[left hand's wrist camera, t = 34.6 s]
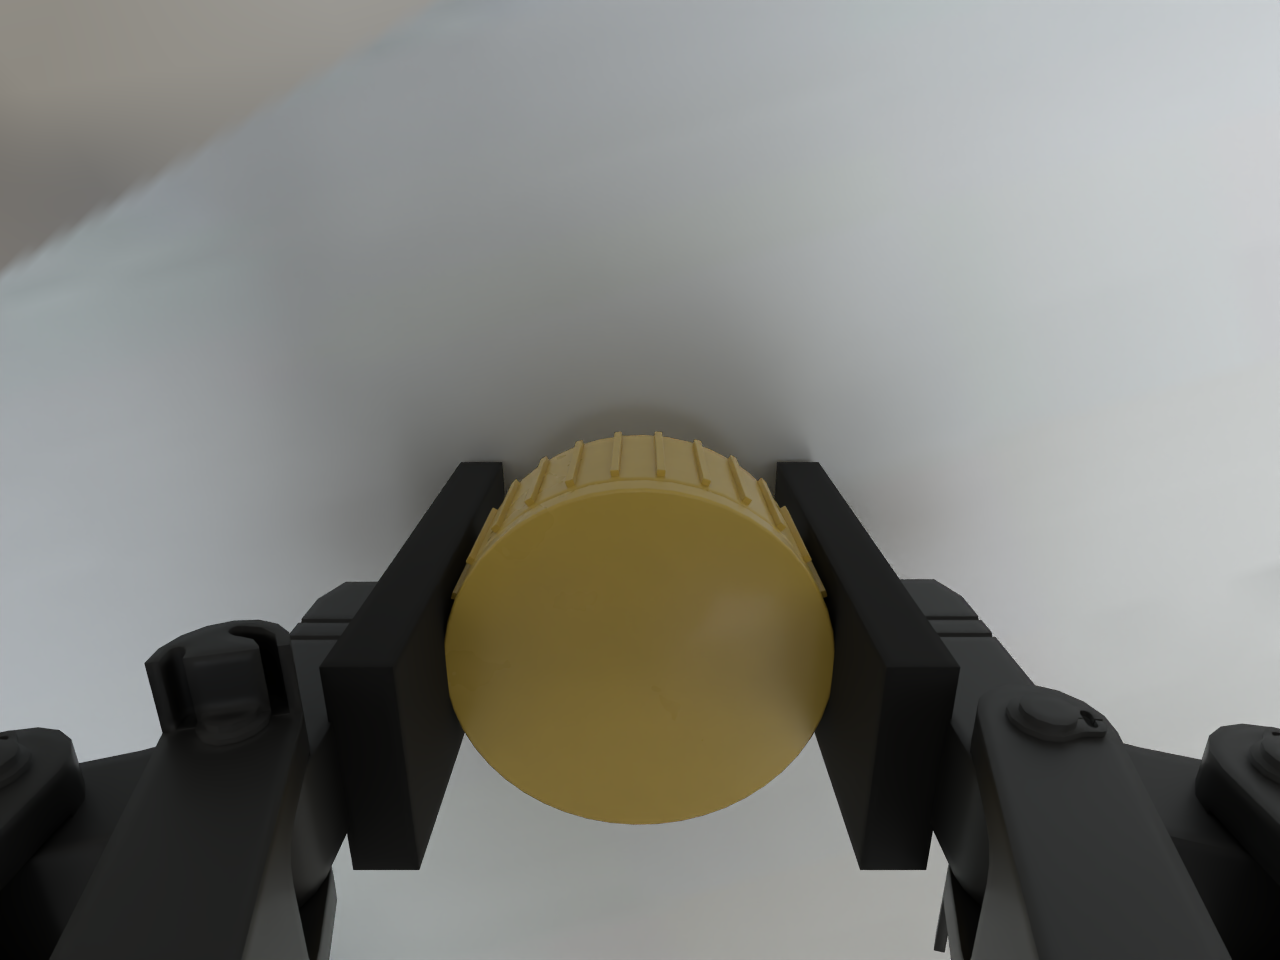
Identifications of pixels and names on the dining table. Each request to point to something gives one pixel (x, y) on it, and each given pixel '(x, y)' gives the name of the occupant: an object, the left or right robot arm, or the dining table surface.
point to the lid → (639, 633)
